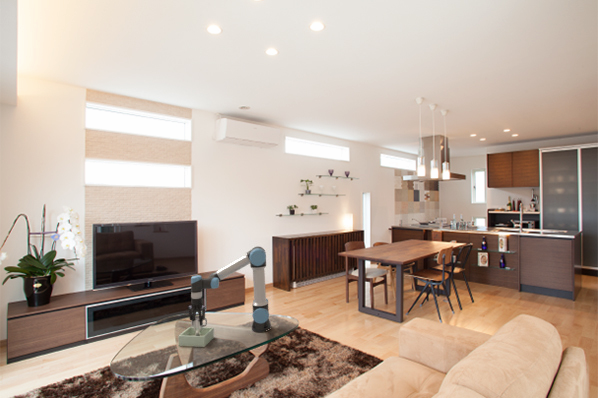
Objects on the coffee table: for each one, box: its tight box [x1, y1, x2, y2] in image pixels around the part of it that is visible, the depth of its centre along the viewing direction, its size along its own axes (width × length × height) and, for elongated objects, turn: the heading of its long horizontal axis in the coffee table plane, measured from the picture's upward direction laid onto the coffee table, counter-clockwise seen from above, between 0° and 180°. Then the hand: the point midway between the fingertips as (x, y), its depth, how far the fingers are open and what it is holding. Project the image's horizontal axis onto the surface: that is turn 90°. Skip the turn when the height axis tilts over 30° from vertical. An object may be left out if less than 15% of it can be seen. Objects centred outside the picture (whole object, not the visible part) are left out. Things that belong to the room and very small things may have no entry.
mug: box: [190, 315, 208, 328], centre depth 257 cm, size 12×8×11 cm
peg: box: [195, 319, 200, 336], centre depth 240 cm, size 3×3×12 cm
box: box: [177, 326, 215, 348], centre depth 238 cm, size 19×16×7 cm
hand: (197, 329), depth 240 cm, fingers closed on peg, 3 cm apart
